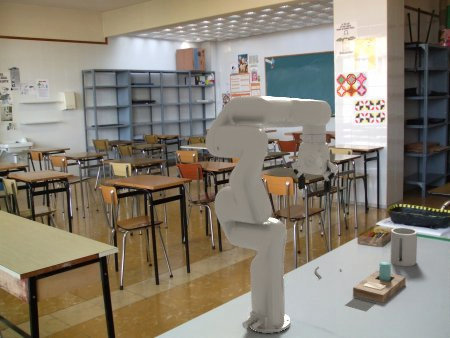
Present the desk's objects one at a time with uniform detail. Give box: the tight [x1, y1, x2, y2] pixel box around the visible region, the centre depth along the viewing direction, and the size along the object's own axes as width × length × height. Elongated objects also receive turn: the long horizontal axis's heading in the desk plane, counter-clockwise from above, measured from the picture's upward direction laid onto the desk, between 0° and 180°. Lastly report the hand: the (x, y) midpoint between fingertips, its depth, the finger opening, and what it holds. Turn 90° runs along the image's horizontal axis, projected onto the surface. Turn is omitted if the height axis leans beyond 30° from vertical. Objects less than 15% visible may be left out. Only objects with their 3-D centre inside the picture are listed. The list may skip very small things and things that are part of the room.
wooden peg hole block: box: [352, 270, 407, 303], centre depth 165 cm, size 18×10×3 cm, turn 139°
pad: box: [344, 296, 377, 312], centre depth 155 cm, size 7×7×1 cm
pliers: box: [314, 266, 342, 281], centre depth 177 cm, size 10×1×20 cm
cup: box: [390, 227, 418, 267], centre depth 189 cm, size 9×9×12 cm
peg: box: [378, 261, 392, 282], centre depth 167 cm, size 4×4×8 cm
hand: (314, 190), depth 166 cm, fingers open, 9 cm apart
